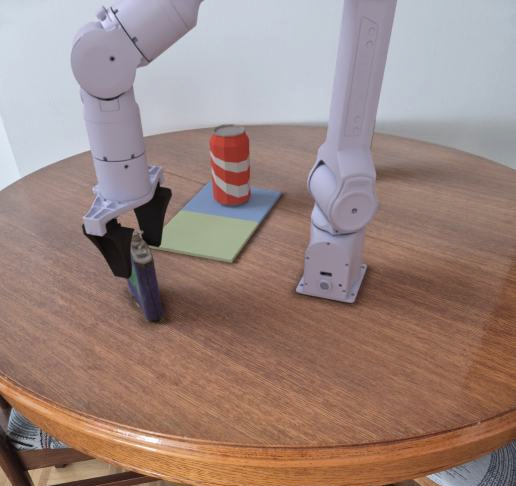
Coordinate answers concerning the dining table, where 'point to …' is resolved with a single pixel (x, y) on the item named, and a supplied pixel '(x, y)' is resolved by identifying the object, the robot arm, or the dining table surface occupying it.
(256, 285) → the dining table surface
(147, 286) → the flask
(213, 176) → the beverage can
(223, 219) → the sorting mat
